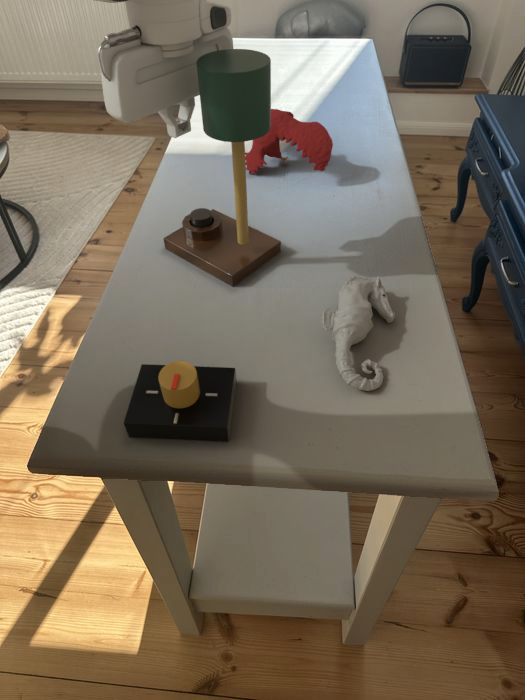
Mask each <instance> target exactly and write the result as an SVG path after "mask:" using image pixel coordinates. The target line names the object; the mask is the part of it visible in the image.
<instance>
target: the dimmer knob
mask: <svg viewBox="0 0 525 700" xmlns="http://www.w3.org/2000/svg"><path fill="white" fill-rule="evenodd" d="M165 365H166V366H164V367H163V368H162V369H161V371H160V373H159V376H158V379H159V383H160V387H161V391H162V394H163V398H164V401H165V402H166V403H167V404H168V405H169V406H171V407H173V408H186V407H189V406H191V405H193V404H194V403H195V402H196V401H197V400H198V398H199V396H200V388H199V382H198V377H197V371H196V369H195V367H194V366H195V365H193V364H192V363H190V362H188V361H184V360H175V361H172V362H169V363H166V364H165Z"/></svg>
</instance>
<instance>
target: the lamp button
mask: <svg viewBox="0 0 525 700" xmlns="http://www.w3.org/2000/svg"><path fill="white" fill-rule="evenodd" d="M210 210H211V209H208V208H206V207H200V208H196V209H195V208H194V209H193V210H192V211H191V212H190V213H189V214H190V217H191V224H192V226H193V227H196V228H205V227H209V226H210V225H212V223H213V221H212V212H211V211H210Z"/></svg>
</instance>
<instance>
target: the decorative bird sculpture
mask: <svg viewBox="0 0 525 700" xmlns="http://www.w3.org/2000/svg"><path fill="white" fill-rule="evenodd" d="M294 116H295V115H294V113H293V112H291V111H288V110H281V109H278V108H271V129H270V131H269V132H268V133H267V134H266V135H264V136H262V137H260V138H258V139H254V140H252V145H251V148H250V150H249V152H245V164H246V171H248V174H249V175H252V174H254V175H257V172H260V168H261V169H262V170H263V169H264V165H265V166H267V165H268V163H267V162H266V161H265V156H267V157H270V158H273V159H275V158H276V159H282V160H283V162H286V161H287V160H289V159H290V158H289V157H288V156H286V157H285V156H284V157H283V156H282V152H281V144H280V141H281V142H284V141H285V143H286V144H288V143H290V147H293V146H296V145H297V146H296V149H295V151H296V152H300V151H301V152H302V153H301V159H304V160H305V159H306V158H308V164H314V166H313V171H320V172H325V170H326V168H327V167H328V165H329V163H330V160H331V155H332V151H333V147H334V142H333V138H332V137H331V136H330V133H329V131H328V129H326V127H325V126H324V125H323V124H321V122H318V121H300V120H298V119H296V118H295V117H294Z"/></svg>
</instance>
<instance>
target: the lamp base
mask: <svg viewBox="0 0 525 700" xmlns="http://www.w3.org/2000/svg"><path fill="white" fill-rule="evenodd" d="M209 210H210V211H211V212H212V221H213V223H212V225H210V226H209V227H205V228H196V227H193V226H192V224H191V217H190V213H189V214H187V215H185V216H184V218H183V219H182V221H181V224H182V227H180V228H178V229H177V230H175V231H173V232H171V233H169V234H168V235H165V237H163V244H164V248H165V250H167V251H168V252H170V253H172V254H174V255H176V256H177V257H179V258H181V259H183V260H185V261H186V262H188V263H190V264H191V265H193V266H195V267H197V268H198V269H200V270H202V271H203V272H206V273H207V274H209V275H211V276H213V277H215V278H216V279H218V280H220V281H221V282H223V283H225V284H227V285H229V286H230V287H235V286H236V285H237V284H239V283H240V282H242V281H243V280H244V279H246V278H248V277H249V276H251V274H253V273H254V272H256V271H257V270H259V268H261V267H262V266H264V265H266V263H268V262H269V261H271V260H272V259H274V258H275V257H276V256H277V255H279V254H280V253H281V252H282V240H279V239H277V238H275V237H273V236H271V235H269V234H267V233H264V232H263V231H261V230H259V229H256V228H255V227H252V226H250V225H248V233H249V242H248V243H247V244H245V245H241V244H239V243H238V239H237V224H236V218H233V217H231V216H229V215H227V214H225V213H223V212H221V211H218V210H216V209H214V208H212V209H209Z"/></svg>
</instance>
